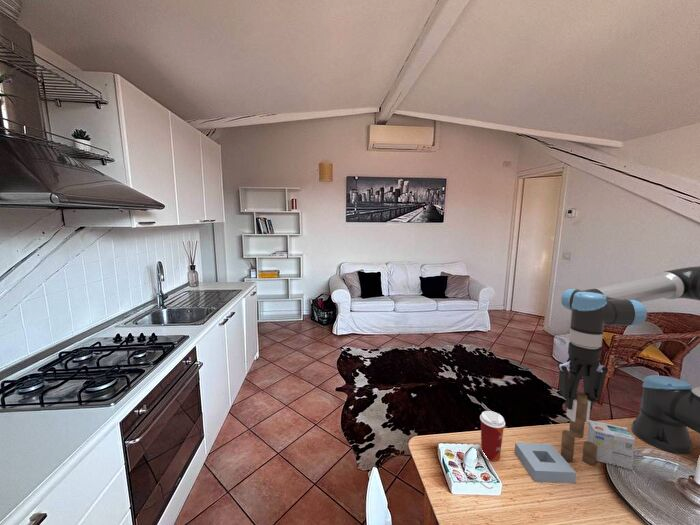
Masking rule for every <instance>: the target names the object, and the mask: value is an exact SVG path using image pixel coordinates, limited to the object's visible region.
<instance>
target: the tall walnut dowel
mask: <svg viewBox="0 0 700 525" xmlns="http://www.w3.org/2000/svg"><path fill="white" fill-rule="evenodd" d="M575 400H577V408H576V418H575V422H574V421H572V420H570V419H569V420H570V421H569V429H568V431H569V433H570V434H571V435H572V436H574V437H575V439H584V433H585V423H586V421H585V415H586V405H587V395H586V394H585V393H584V392H583V391H578V390H577V392H576V396H575Z"/></svg>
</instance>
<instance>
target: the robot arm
mask: <svg viewBox="0 0 700 525" xmlns="http://www.w3.org/2000/svg"><path fill="white" fill-rule="evenodd" d="M560 299H561V300H560V301H561V306H563V307H564V308H565V309H566V310H567V309H568V310H569V311H571V313H570V314H571V315H570V325H569V326H570V328H569V337H568V338H569V343H568V346H567V348H568V349H567V354H568V358H567V359H566V362H564V363H561V362H558V363H557V365H556V366H557V368H558V370H559V373H558V375H559V376H558V392H559V394H560V395H561V396H562V397H563V398H565V402H564V403H565V404H564V405H565V408H566V414H565V415H566V417H567V418H568V419H569V420H572V421H574V422H575V418H576V408H577V400H575V396H576V392H577V391H578V388H579V386H580V381H581V380H583V381H582V382H583V393H585V394H586V395H587V405H586V415H585V423H588V422H589V420H590V413H591V411H592V410H593V406H594V405H593V404H594V403H597V400H600V399H601V398H602V395H603V390H604V385H605V384H604V383H605V379H606V378H605V377H606V375H607V373H608V372H609V368H608V367H606V366H604V365H603V364H600V362H599V361H601V355H602V349H601V347H603V336H604V326H626V327H629V326H638V325H641V324H643V323H644V322H645V321H646V319H647V316H648V312H647V311H648V310H647V309H646V306H645V305H644V304H643V303H644V302H649V301H654V300H659V299H666V300H675V299H686V300H695V301H700V265H699V266H690V267H689V266H688V267H683V268H682V267H681V268H676V269H671V270H666V271H661V272H658V273H655V274H654V275H653V276H651V277H650V276H649V277H645V278H641V279H636V280H631V281H625V282H620V283H616V284H615V283H613V284H610V285H605V286H600V287H594V288H589V289H584V290H580V289H577V288H576V289H575V288H569V289H567V290H565V291H564V292H563V293H562V295H561V298H560ZM641 387H642V390H641V401H640V410H639V413H638V414H637V416H636V417H635V419H634V420H633V421H632V424H631V431H632V433H633V434H634V435H635V436H636V437H638V438H639V439H640V440H642V441H643V442H645V443H647V444H649V445H651V446H652V447H655V448H658V449H661V450H664V451H666V452H668V453H669V452H670V453H674V454H680V455H681V454H682V455H685V454H687V455H688V454H690V453H691V452H692V450H693V442H692V440H691V437H690V433H689V429H691V430H693V431H695V432H696V433H698V434H700V385H699V386H697V387H694V388H693V387H692V384H691V383H690V382H688V381H687V380H686V381H685V380H683V379H681V378H680V379H679V378H677V377H671V376H666V375H657V374H656V375H655V374H653V375H646V376H645V377H644V379H643V383H642V386H641Z"/></svg>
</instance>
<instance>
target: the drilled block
mask: <svg viewBox="0 0 700 525" xmlns="http://www.w3.org/2000/svg"><path fill="white" fill-rule="evenodd" d="M514 443H515V444H514V454H515V455H516V456H517V458H518V459H519V460H520V462H521V463H522V465H523V466H524V468H525V469H526V471H527V473H528V474H529V475H530V477H531V478H532V480H533V481H534V482H538V483H539V482H543V483H562V484H576V480H577V472H576V470H575V469H574V468H573V467H572V465H571V464H569V462H567V461H566V460H565V459H564V458H563V457H562V456H561V452H559V451H558V450H557V449H556V448H555V446H554V445H553V444H552V443H539V442H538V443H537V442H535V443H533V442H532V443H531V442H514Z"/></svg>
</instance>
